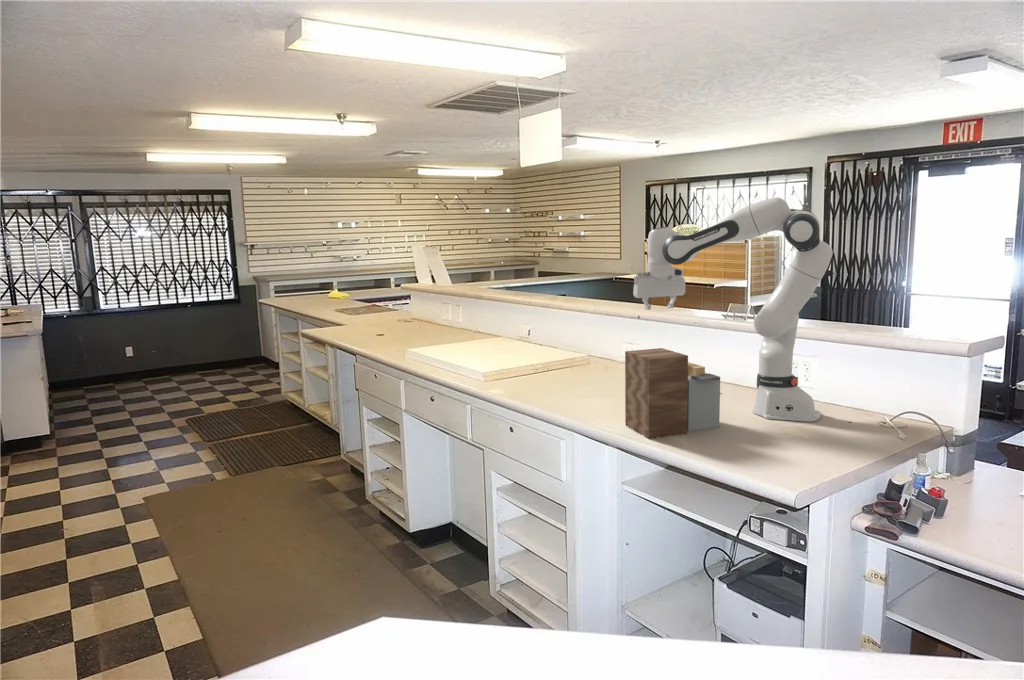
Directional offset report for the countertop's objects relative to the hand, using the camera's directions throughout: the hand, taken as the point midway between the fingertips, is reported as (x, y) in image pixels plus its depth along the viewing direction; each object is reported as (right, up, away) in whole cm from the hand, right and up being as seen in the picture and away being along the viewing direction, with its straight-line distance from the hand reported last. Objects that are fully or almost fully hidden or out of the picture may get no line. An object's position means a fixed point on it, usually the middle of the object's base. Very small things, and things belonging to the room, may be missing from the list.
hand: (659, 308), depth 246 cm
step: (+7, -40, -19) cm, 45 cm away
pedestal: (-7, -42, -25) cm, 49 cm away
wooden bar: (+5, -23, -19) cm, 30 cm away
